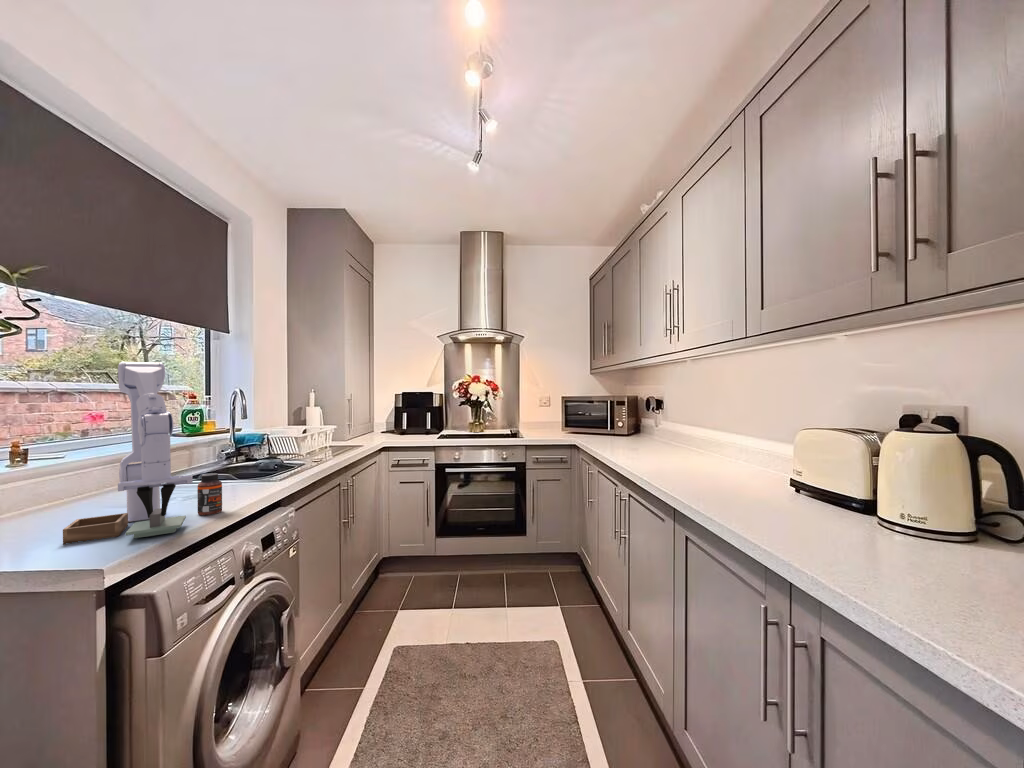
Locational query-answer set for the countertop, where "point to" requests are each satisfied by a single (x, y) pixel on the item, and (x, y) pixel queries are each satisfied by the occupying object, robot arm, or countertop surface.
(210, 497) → the supplement bottle
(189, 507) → the countertop surface
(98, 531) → the box
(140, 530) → the lid
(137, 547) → the countertop surface
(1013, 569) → the countertop surface
